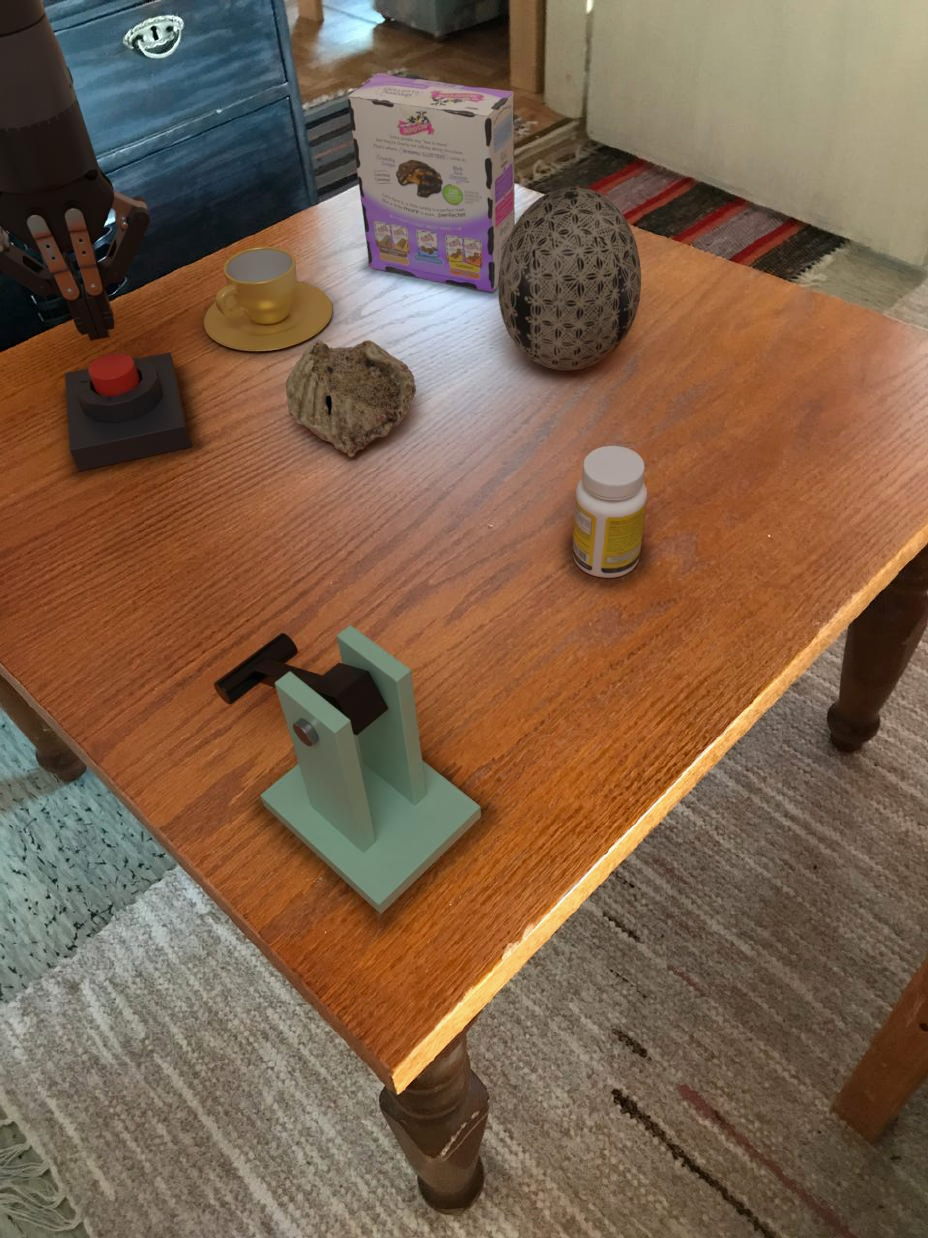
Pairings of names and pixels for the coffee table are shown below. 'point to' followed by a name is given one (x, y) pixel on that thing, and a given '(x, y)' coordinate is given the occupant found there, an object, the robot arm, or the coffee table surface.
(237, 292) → the cup
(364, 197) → the candy box
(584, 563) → the supplement bottle
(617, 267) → the decorative egg
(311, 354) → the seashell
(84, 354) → the coffee table surface
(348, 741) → the bracket
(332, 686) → the lever
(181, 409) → the button housing
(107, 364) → the button
